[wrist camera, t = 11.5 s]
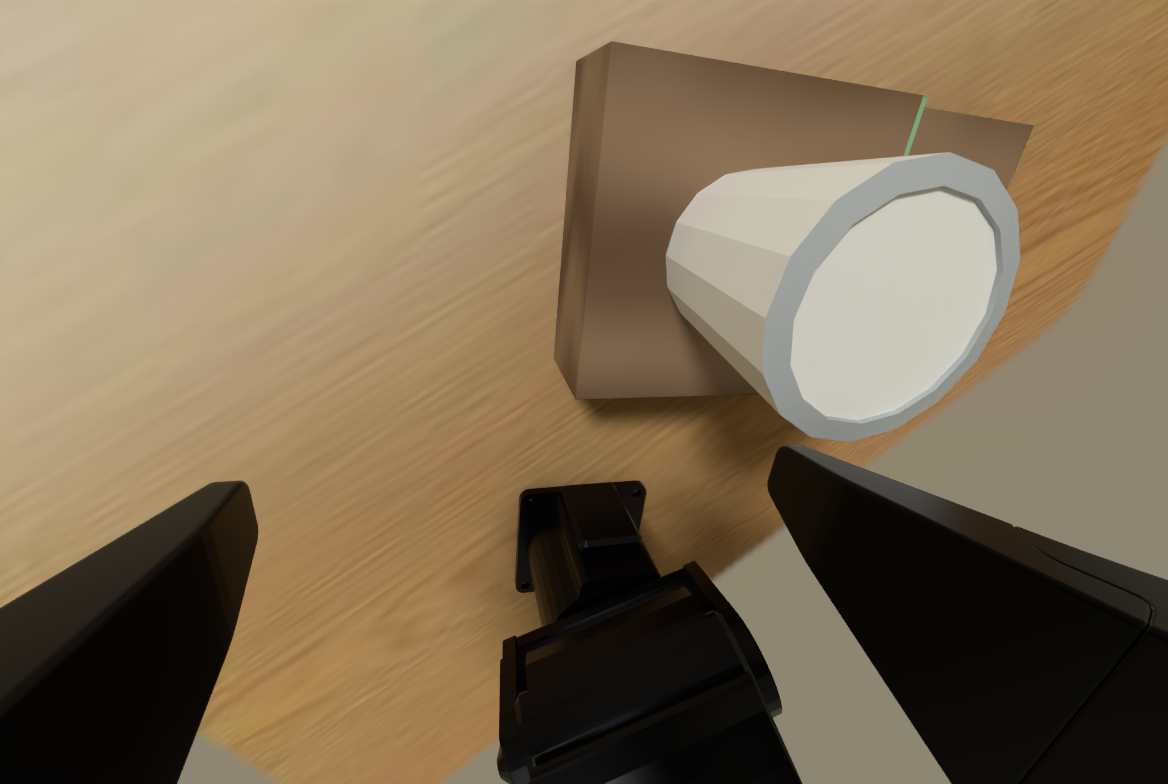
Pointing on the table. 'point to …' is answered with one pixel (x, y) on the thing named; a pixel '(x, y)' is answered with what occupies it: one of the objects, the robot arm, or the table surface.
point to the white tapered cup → (848, 283)
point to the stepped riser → (688, 165)
